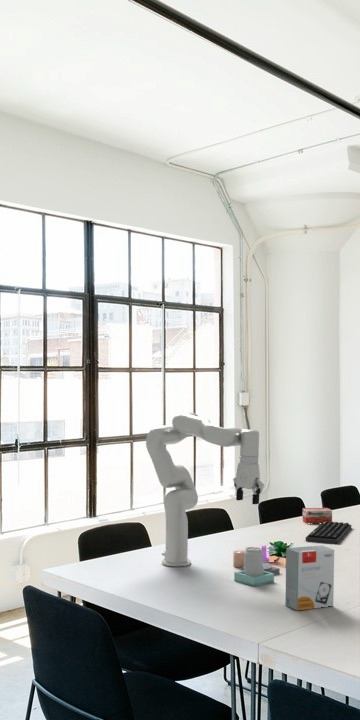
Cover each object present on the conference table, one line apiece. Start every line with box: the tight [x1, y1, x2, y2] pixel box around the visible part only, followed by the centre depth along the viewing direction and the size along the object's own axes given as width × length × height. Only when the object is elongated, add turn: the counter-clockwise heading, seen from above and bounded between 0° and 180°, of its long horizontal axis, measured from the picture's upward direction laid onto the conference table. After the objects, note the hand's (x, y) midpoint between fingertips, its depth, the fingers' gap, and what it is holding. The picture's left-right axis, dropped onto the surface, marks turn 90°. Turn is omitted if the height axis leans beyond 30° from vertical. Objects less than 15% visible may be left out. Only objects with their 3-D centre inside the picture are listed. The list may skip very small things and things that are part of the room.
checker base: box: [241, 566, 280, 576], centre depth 296 cm, size 11×11×3 cm
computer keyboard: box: [305, 521, 352, 545], centre depth 377 cm, size 45×16×4 cm, turn 158°
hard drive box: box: [284, 545, 335, 611], centre depth 251 cm, size 16×8×20 cm, turn 114°
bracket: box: [260, 544, 274, 563], centre depth 321 cm, size 13×6×7 cm, turn 160°
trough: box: [233, 570, 275, 587], centre depth 283 cm, size 11×11×3 cm
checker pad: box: [263, 562, 273, 570], centre depth 296 cm, size 9×9×1 cm
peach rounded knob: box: [232, 549, 246, 569], centre depth 307 cm, size 6×6×6 cm
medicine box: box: [302, 507, 333, 524], centre depth 411 cm, size 15×8×8 cm, turn 96°
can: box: [244, 546, 264, 577], centre depth 283 cm, size 8×8×12 cm
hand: (247, 502), depth 294 cm, fingers open, 9 cm apart
